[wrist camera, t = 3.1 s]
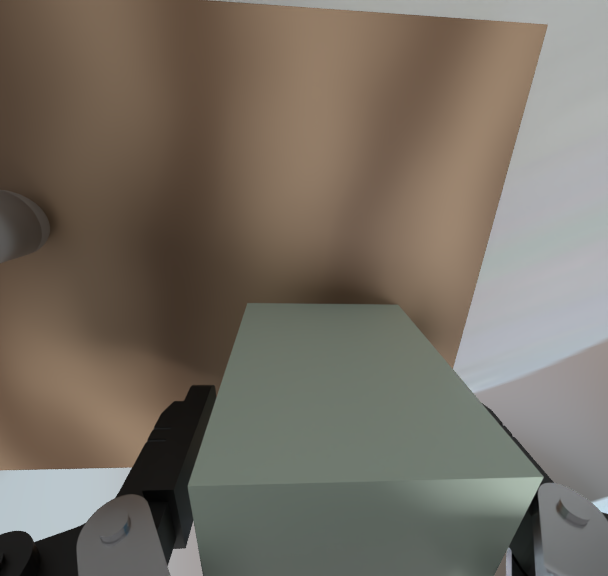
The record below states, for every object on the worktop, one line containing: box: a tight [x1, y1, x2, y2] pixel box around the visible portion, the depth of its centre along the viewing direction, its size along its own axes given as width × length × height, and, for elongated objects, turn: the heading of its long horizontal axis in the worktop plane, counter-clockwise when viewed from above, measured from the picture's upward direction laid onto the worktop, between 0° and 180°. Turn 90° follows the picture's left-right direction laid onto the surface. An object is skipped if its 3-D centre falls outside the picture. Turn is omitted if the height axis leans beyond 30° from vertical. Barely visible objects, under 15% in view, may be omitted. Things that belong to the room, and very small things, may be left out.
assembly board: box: [0, 0, 548, 470], centre depth 10 cm, size 22×18×6 cm
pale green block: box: [188, 303, 544, 576], centre depth 9 cm, size 6×6×7 cm
